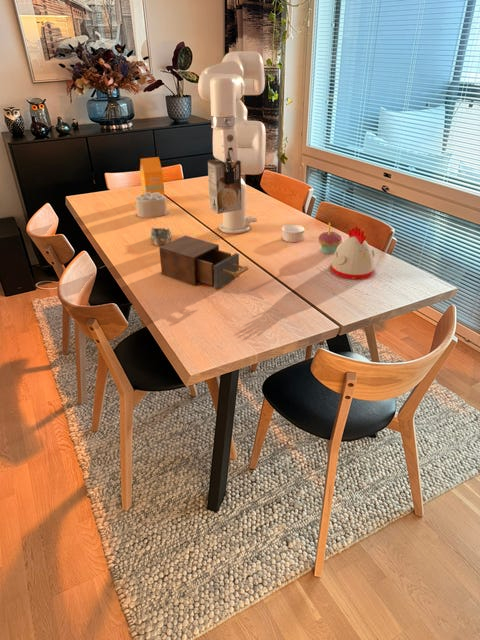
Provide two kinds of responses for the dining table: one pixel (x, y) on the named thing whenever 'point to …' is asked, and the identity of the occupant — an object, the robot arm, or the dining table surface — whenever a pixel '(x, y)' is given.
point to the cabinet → (183, 258)
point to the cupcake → (329, 241)
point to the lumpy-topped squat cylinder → (151, 205)
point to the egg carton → (160, 236)
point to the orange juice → (151, 175)
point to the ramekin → (292, 233)
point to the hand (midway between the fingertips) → (224, 180)
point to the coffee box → (224, 187)
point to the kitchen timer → (353, 257)
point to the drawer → (218, 268)
